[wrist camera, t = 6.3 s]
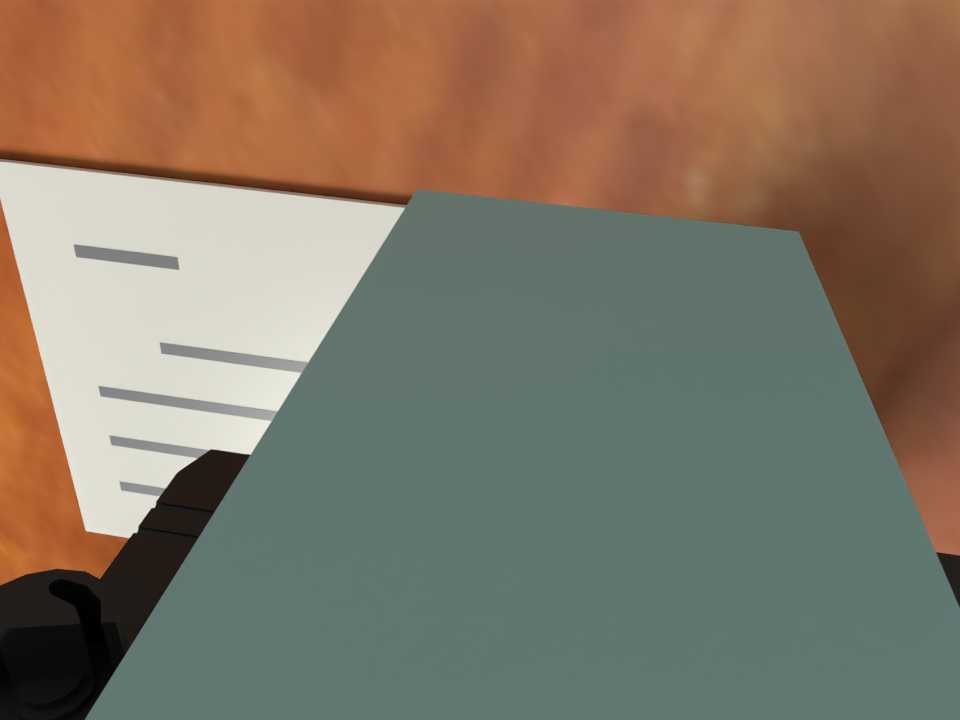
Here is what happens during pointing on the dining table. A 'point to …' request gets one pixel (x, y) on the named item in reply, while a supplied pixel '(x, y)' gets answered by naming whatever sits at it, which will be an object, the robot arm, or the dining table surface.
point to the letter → (174, 314)
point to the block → (563, 498)
